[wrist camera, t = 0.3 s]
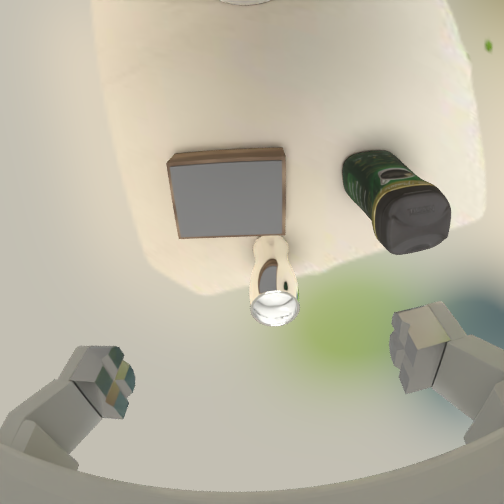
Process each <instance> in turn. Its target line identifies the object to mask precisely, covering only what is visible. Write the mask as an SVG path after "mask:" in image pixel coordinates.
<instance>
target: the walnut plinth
mask: <svg viewBox="0 0 504 504" xmlns="http://www.w3.org/2000/svg"><path fill="white" fill-rule="evenodd" d="M166 164H167V171H168V177H169V184H170V190H171V196H172V202H173V208H174V214H175V220H176V226H177V231H178V237H179V239H190V238H216V237H243V236H274V235H285V205H286V165H285V154H284V151H283V148H248V149H228V150H212V151H199V152H187V153H177V154H174V155H173V156H172V158H171V159H170V160H169V161H168V162H167V163H166Z"/></svg>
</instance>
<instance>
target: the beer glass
mask: <svg viewBox="0 0 504 504" xmlns="http://www.w3.org/2000/svg"><path fill="white" fill-rule="evenodd" d="M288 251H289V248H288V244H287V242H286V240H285V239H284V238H283V237H281V236H280V235H274V236H261V237H259V238H258V239H257V240H256V241H255V243H254V246H253V254H254V257H255V264H254V268H253V271H252V274H251V279H250V286H249V297H250V307H251V308H250V309H251V314H252V316H253V318H254V319H255V320H256V321H258V322H259V323H261V324H263V325H266V326H282V325H285V324H287V323H289V322H291V321H292V320H294V319H295V318H296V316H297V315H298V313H299V310H300V305H299V290H298V284H297V279H296V276H295V273H294V271H293V269H292V267H291V265H290V263H289V260H288Z"/></svg>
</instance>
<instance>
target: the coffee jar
mask: <svg viewBox="0 0 504 504" xmlns="http://www.w3.org/2000/svg"><path fill="white" fill-rule="evenodd" d="M343 184H344V188H345V191H346V192H347V194H348V195H349V196H350V198H351V199H352V200H353V201H354V202H355V203H356V204H357V205H358V206H359V207H360V208H361V209H362V210H363V211H364V212H365V213H366V215H367V216H368V217H369V218H370V219H371V221H372V226H373V230H374V233H375V236H376V238H377V239H378V241H379V242H380V243H381V244H382V245H383V246H384V247H385V248H386V249H387V250H388V251H389V252H390V253H392V254H396V255H402V254H408V253H413V252H418V251H422V250H425V249H429V248H432V247H434V246H436V245H438V244H440V243H441V242H442V241H443V240H444V239H446V238H447V236H448V232H449V228H450V221H451V208H450V205H449V202H448V200H447V199H446V197H445V196H444V195H443V194H442V192H441V191H440V190H439V189H438V188H437V187H436V186H434V185H433V184H431V183H428V182H426V181H424V180H422V179H421V178H419V177H418V176H417V175H415V174H414V173H413V172H412V171H411V170H410V169H409V168H407V167H406V166H405V165H404V164H403V163H402V162H401V161H400V160H399V159H398V158H397V157H396V156H395V155H393V154H392V153H390V152H388V151H369V152H363V153H358V154H355V155H352V156H350V157H349V158H348V159H347V160H346V161H345V163H344V166H343Z"/></svg>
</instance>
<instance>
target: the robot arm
mask: <svg viewBox="0 0 504 504" xmlns="http://www.w3.org/2000/svg"><path fill="white" fill-rule="evenodd" d="M220 1H223V2H226V3H230V4H236V5H254V4H260V3H264V2H268V1H270V0H220ZM392 325H393V327H394V331H393V332H392V334H391V335H390V342H389V347H390V354H391V358H392V361H393V364H394V366H396V367H398V368H399V369H400V374H399V378H400V381H401V383H402V386H403V388H404V391H405V393H406V394H408V393H412V392H416V391H419V390H423V389H427V388H430V387H432V389H433V390H435V391H436V392H437V393H439V394H440V395H441V396H443V397H444V398H445V399H446V400H448V401H449V402H450V403H452V404H453V405H454V406H455V407H457V408H458V409H459V410H461V411H462V412H463V413H464V414H466V415H467V416H468V417H470V418H471V419H472V420H474V421H473V423H472V425H471V426H470V428H469V429H468V431H467V432H466V434H465V436H464V440H465V443H466V445H463V446H461V447H459V448H457V449H454V450H452V451H449V452H447V453H444V454H441V455H439V456H436V457H433V458H430V459H427V460H425V461H422V462H419V463H416V464H413V465H409V466H406V467H403V468H400V469H396V470H393V471H389V472H385V473H381V474H377V475H373V476H369V477H365V478H360V479H355V480H350V481H345V482H339V483H334V484H328V485H321V486H314V487H307V488H298V489H287V490H276V491H258V492H257V491H256V492H211V491H209V492H208V491H192V490H180V489H169V488H160V487H153V486H146V485H139V484H134V483H128V482H123V481H118V480H113V479H108V478H104V477H99V476H95V475H91V474H87V473H83V472H80V471H77V469H78V466H79V464H78V462H77V461H76V460H75V459H74V458H73V457H71V456H70V455H69V454H70V453H71V451H73V449H74V448H75V447H76V446H77V445H78V444H79V443H80V442H81V441H82V440H83V439H84V438H85V437H86V436H87V435H88V434H89V432H90V431H91V430H92V429H93V428H94V427H95V426H96V425H97V424H98V423H99V422H100V421H101V420H102V418H113V419H123V418H124V416H125V413H126V410H127V407H128V405H129V402H128V400H127V397H128V396H129V395H130V394H132V393H133V390H134V387H135V375H134V371H133V369H132V368H131V366H130V365H129V364H128V363H127V362H125V361H124V360H123V358H124V354H123V353H122V351H121V349H120V348H119V347H116V346H79V347H77V348H76V349H75V351H74V352H73V354H72V356H71V357H70V359H69V361H68V363H67V364H66V366H65V367H64V369H63V371H62V373H61V374H60V376H59V378H58V380H55V379H54V380H53V381H52V382H50V383H49V384H48V385H46V386H45V387H43V388H42V389H41V390H39V391H38V392H37V393H35V394H34V395H33V396H31V397H30V398H28V399H27V400H26V401H24V402H23V403H22V404H20V405H19V406H18V407H16V408H15V409H14V410H12V411H11V412H10V413H9V414H8V416H7V417H6V419H5V421H4V423H3V425H2V427H1V429H0V504H504V350H503V349H500V348H499V347H496V346H494V345H492V344H490V343H488V342H486V341H484V340H482V339H480V338H478V337H475V336H473V335H468V336H467V335H466V333H465V332H464V330H463V329H462V327H461V326H460V325H459V323H458V322H457V320H456V319H455V318H454V316H453V315H452V314H451V312H450V311H449V310H448V308H447V307H446V306H445V304H444V303H443V302H441V301H438V302H435V303H431V304H427V305H425V306H420V307H416V308H411V309H407V310H403V311H399V312H394V314H393V317H392Z"/></svg>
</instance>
